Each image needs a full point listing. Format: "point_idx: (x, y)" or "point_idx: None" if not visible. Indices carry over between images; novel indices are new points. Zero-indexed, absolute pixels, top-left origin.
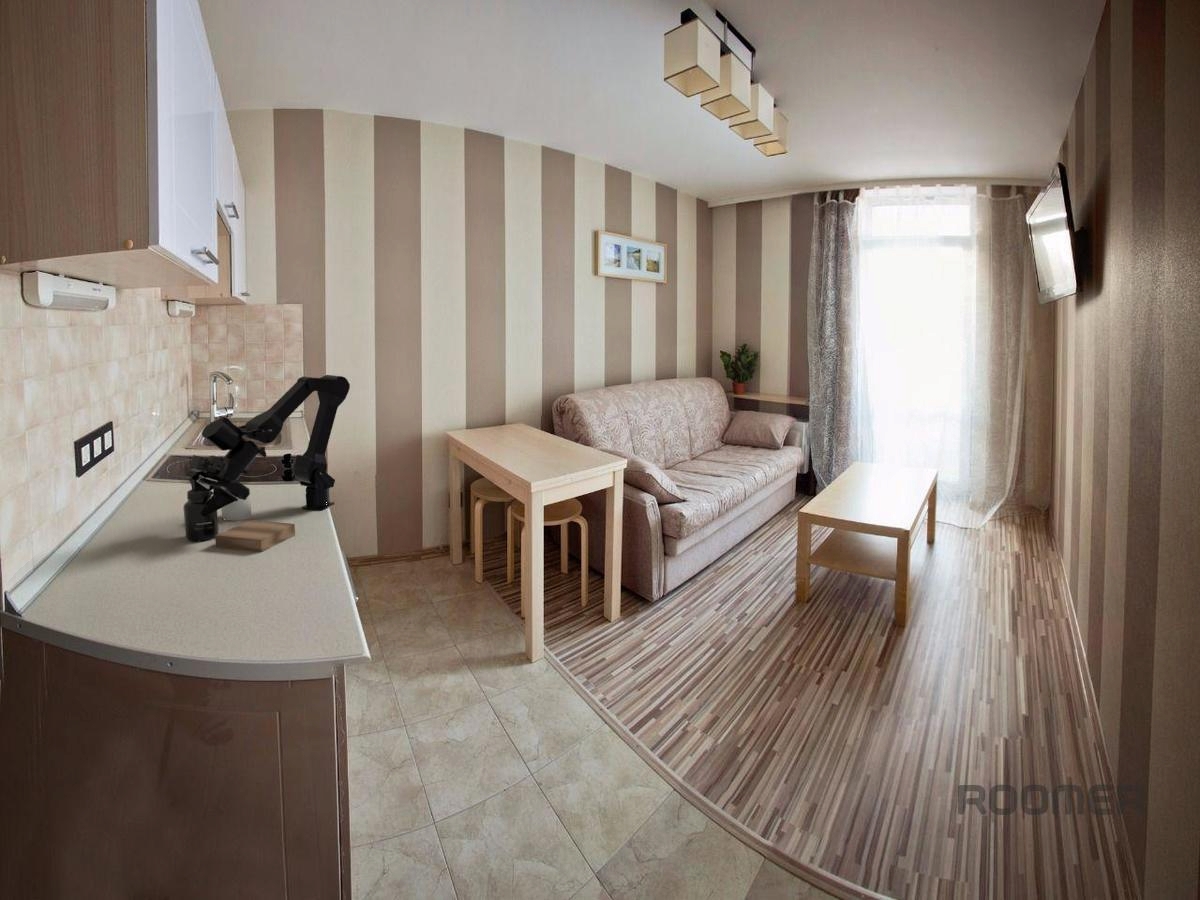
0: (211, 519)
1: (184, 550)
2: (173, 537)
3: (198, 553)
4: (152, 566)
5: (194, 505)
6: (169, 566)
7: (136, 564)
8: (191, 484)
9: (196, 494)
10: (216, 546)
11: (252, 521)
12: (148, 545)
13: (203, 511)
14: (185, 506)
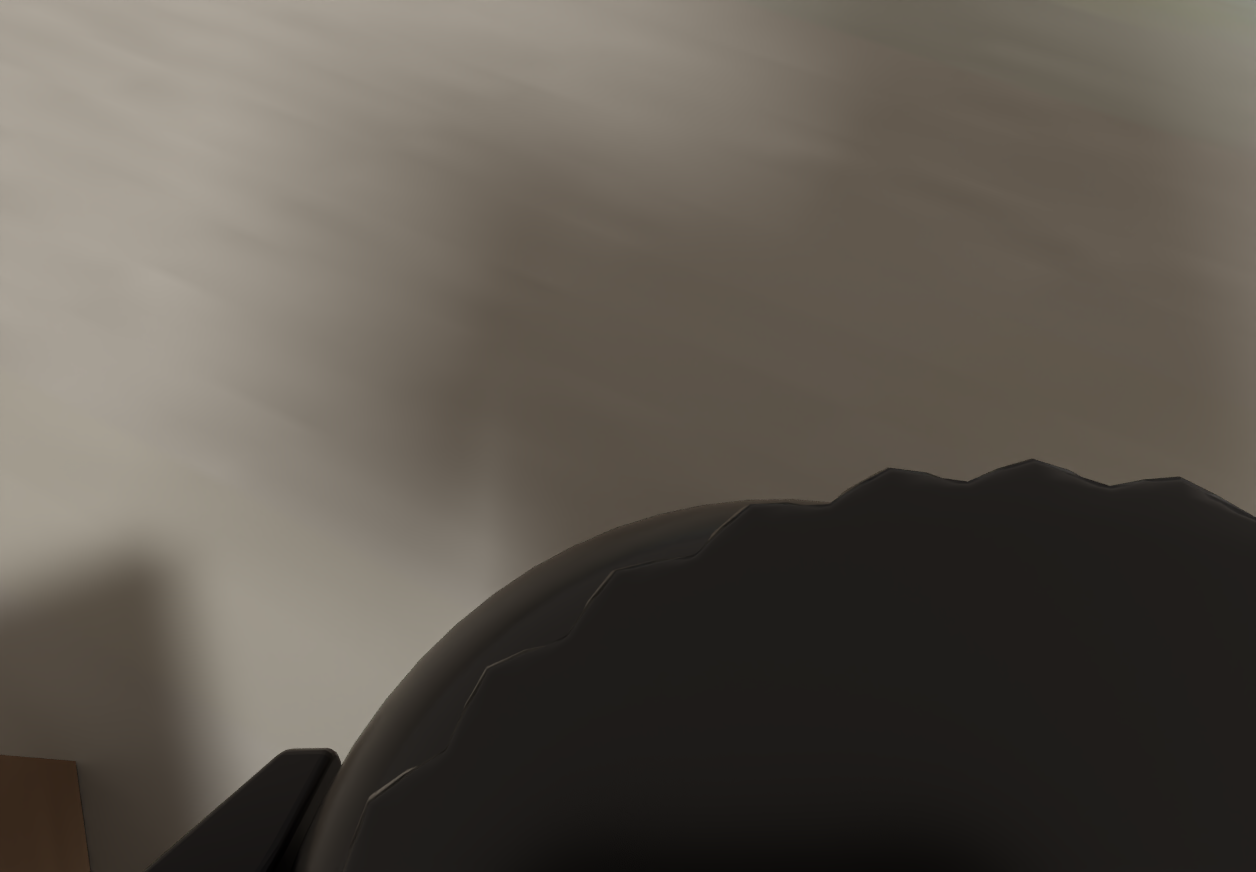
0: None
1: (363, 456)
2: None
3: (96, 498)
4: (197, 79)
5: (490, 640)
6: (36, 152)
7: (389, 36)
8: None
9: (464, 763)
10: (57, 764)
11: None
12: (898, 315)
13: (223, 803)
14: (803, 504)
